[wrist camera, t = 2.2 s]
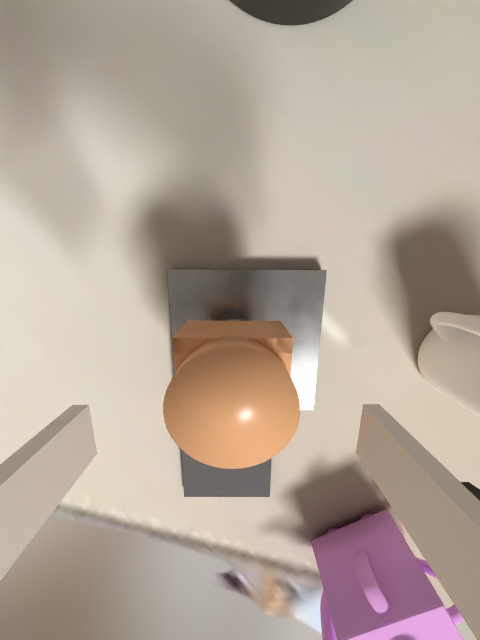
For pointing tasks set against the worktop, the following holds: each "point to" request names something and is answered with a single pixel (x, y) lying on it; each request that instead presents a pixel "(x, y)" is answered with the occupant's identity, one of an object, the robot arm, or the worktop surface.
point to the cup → (453, 358)
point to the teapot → (378, 586)
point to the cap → (232, 392)
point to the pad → (224, 480)
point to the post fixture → (257, 309)
